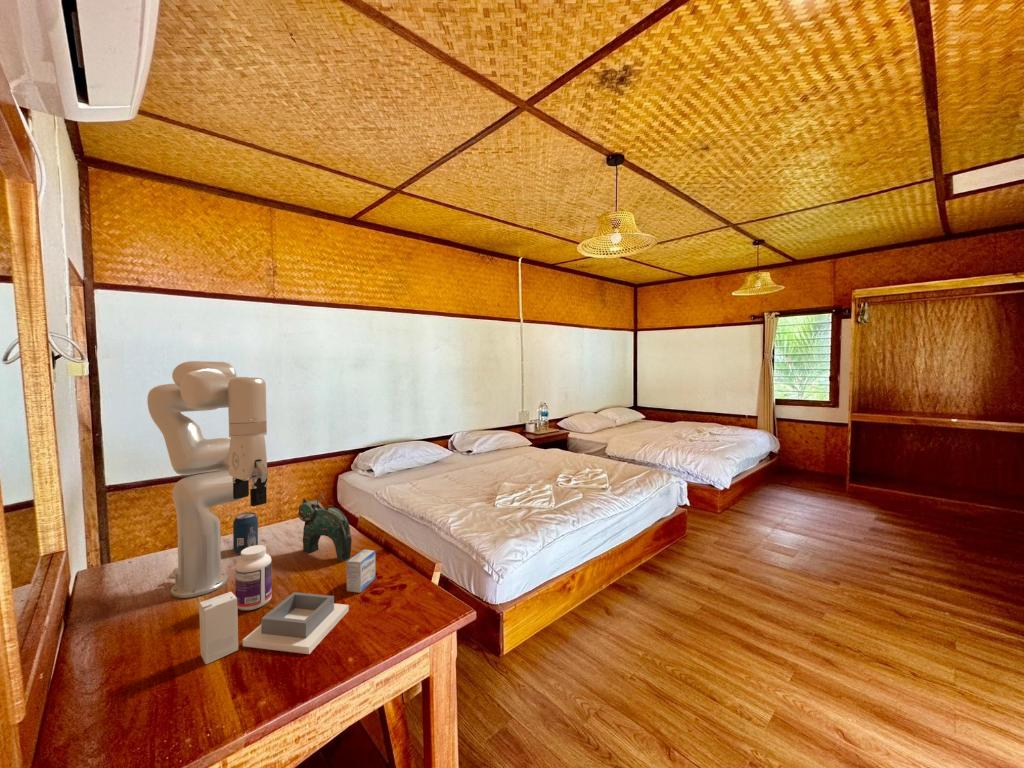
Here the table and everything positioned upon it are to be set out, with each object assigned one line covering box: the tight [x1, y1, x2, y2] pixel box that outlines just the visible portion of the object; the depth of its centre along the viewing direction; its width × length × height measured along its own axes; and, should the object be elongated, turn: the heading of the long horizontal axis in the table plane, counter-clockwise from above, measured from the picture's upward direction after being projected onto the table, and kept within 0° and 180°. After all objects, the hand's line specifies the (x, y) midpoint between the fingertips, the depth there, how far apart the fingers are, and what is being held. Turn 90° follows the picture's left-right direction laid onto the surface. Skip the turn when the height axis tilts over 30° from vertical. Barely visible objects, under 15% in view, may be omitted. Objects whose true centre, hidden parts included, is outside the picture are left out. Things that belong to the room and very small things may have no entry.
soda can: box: [232, 512, 259, 555], centre depth 136 cm, size 7×7×12 cm
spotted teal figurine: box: [298, 494, 353, 562], centre depth 134 cm, size 20×6×20 cm, turn 67°
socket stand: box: [242, 591, 350, 655], centre depth 96 cm, size 16×16×5 cm
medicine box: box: [346, 549, 376, 594], centre depth 115 cm, size 8×4×9 cm, turn 168°
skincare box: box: [198, 591, 239, 665], centre depth 87 cm, size 6×4×12 cm
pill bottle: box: [234, 544, 273, 611], centre depth 105 cm, size 8×8×14 cm
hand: (249, 501), depth 96 cm, fingers open, 9 cm apart
